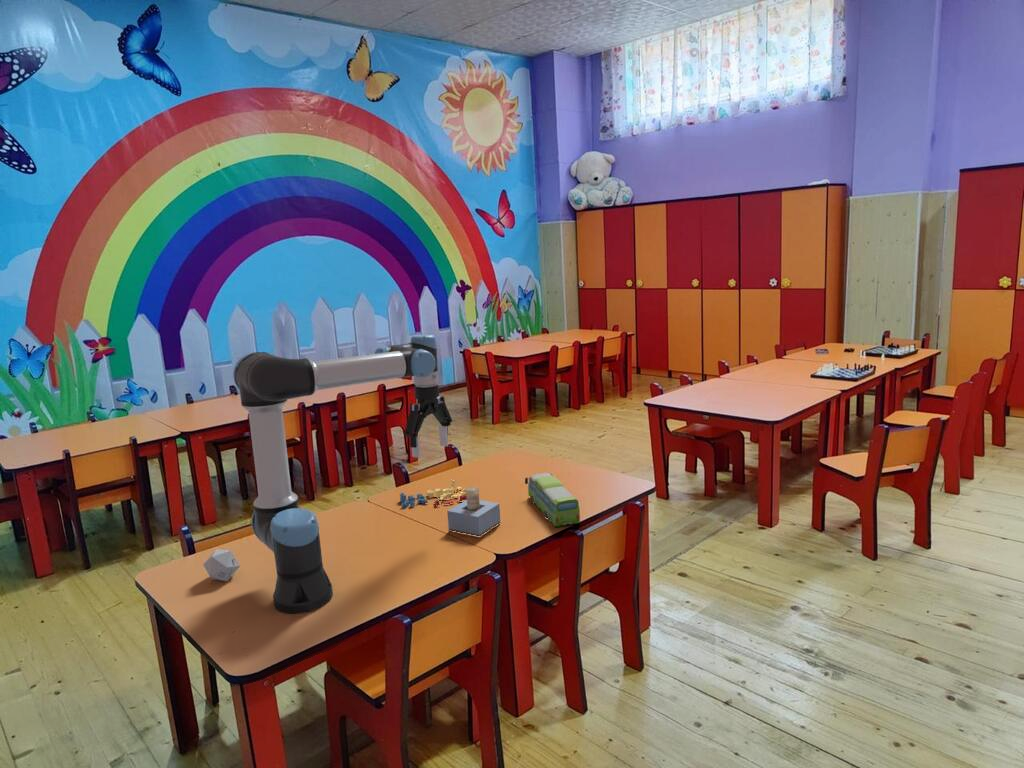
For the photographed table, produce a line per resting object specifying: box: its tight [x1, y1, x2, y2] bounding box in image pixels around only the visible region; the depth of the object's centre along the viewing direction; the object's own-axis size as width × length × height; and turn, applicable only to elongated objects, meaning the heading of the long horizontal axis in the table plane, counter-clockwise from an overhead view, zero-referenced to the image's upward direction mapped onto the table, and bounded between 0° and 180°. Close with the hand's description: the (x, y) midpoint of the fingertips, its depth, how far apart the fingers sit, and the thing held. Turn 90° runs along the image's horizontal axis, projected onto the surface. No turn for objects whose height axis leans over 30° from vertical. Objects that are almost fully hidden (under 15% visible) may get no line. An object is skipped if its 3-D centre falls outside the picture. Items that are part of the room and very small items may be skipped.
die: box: [202, 548, 241, 582], centre depth 199 cm, size 8×9×10 cm
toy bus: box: [524, 472, 581, 527], centre depth 235 cm, size 10×31×10 cm, turn 15°
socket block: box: [446, 499, 501, 536], centre depth 224 cm, size 12×12×7 cm
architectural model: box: [399, 479, 467, 509], centre depth 253 cm, size 45×14×5 cm, turn 112°
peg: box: [466, 486, 480, 512], centre depth 224 cm, size 4×4×12 cm
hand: (430, 451), depth 218 cm, fingers open, 13 cm apart
